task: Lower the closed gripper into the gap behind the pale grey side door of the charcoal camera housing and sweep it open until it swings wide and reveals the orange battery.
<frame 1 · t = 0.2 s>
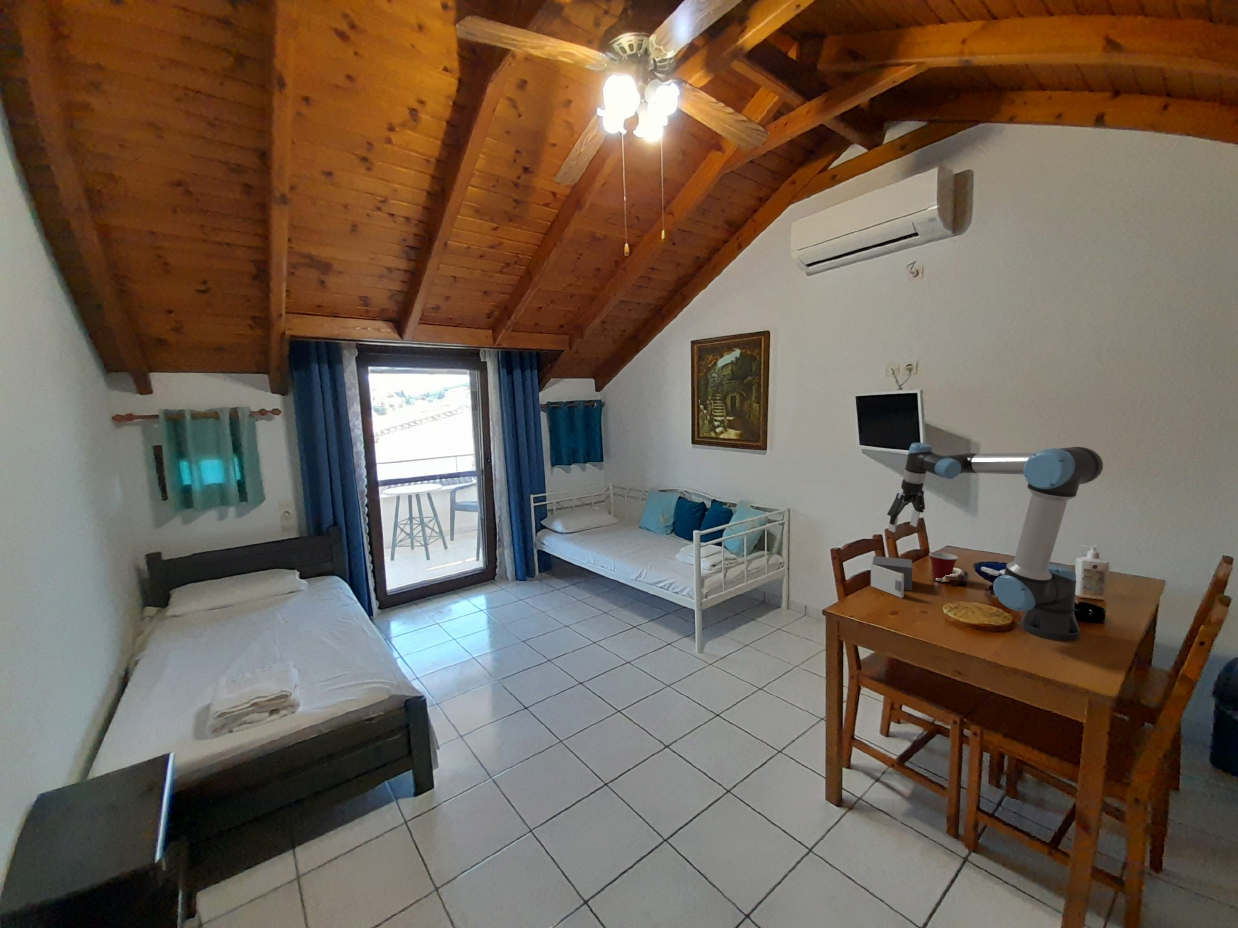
hand: (902, 528, 207), 27 cm above the table, tool pointing down, fingers open, 13 cm apart
side door: (885, 580, 209), point 5 cm above the table, hinge at 40.0°
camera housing: (891, 583, 218), on the table
plastic cup: (942, 581, 219), on the table
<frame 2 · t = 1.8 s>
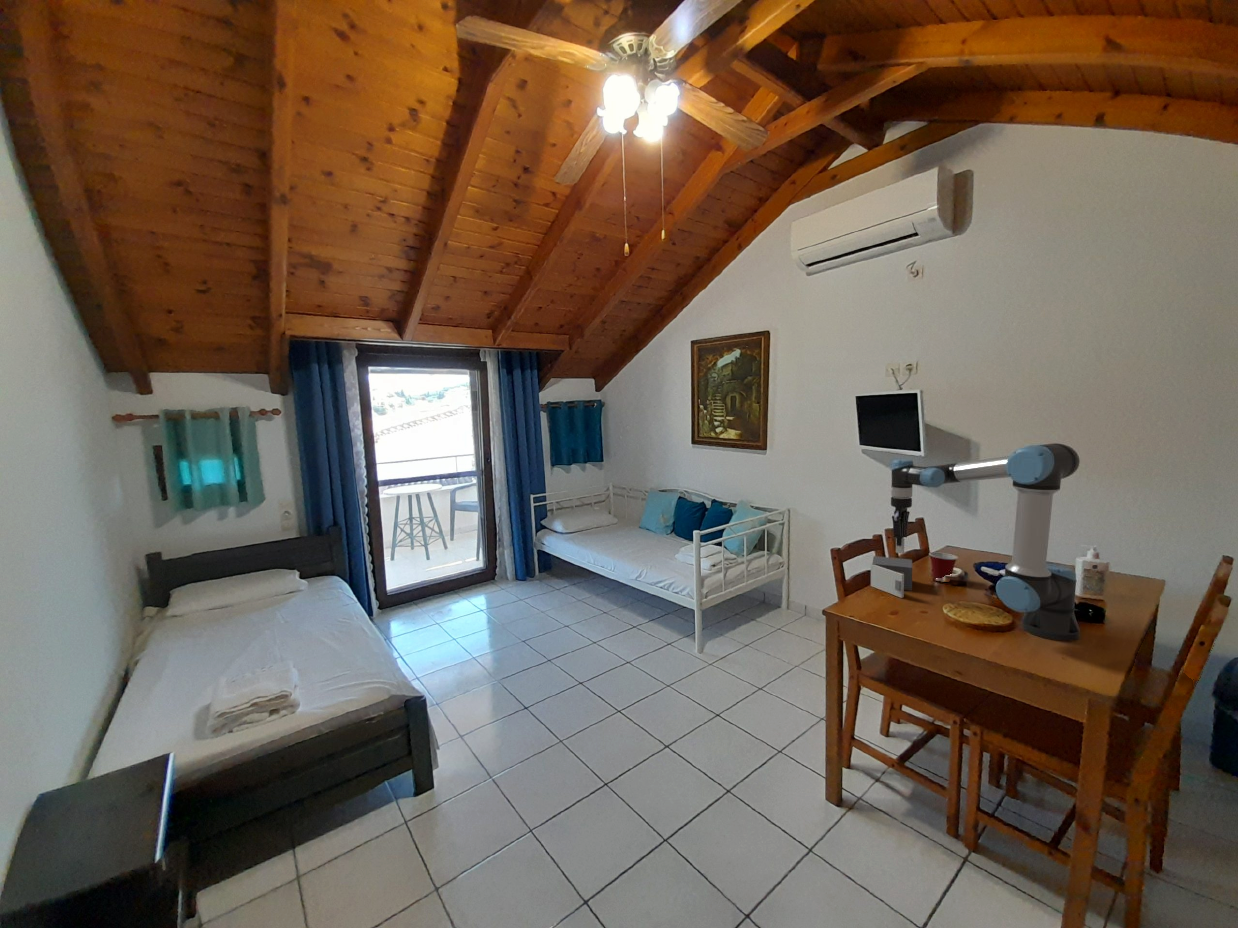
hand: (899, 552, 206), 17 cm above the table, tool pointing down, fingers closed
nothing on the table moved.
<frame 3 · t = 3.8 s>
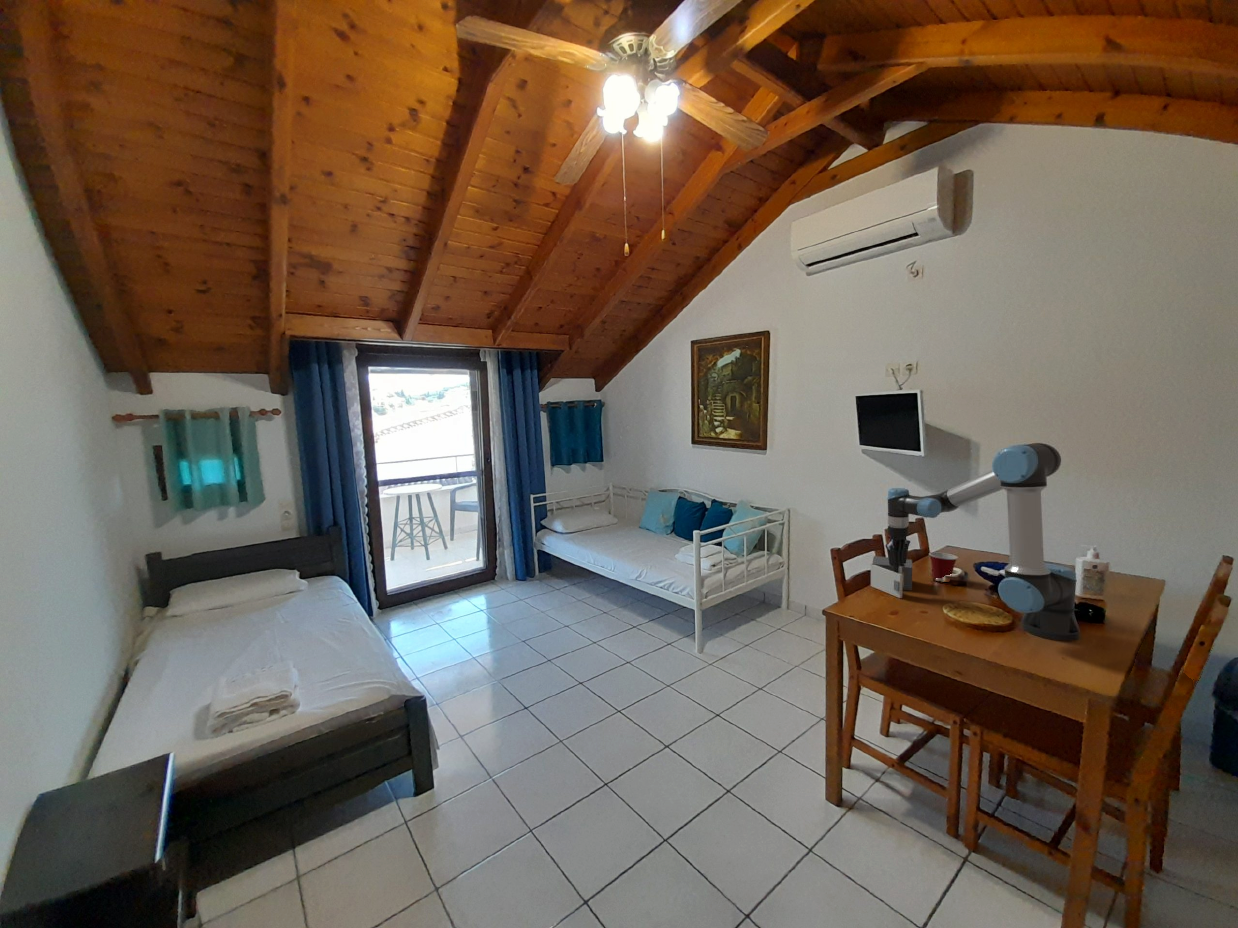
hand: (897, 581, 206), 5 cm above the table, tool pointing down, fingers closed
side door: (885, 580, 209), point 5 cm above the table, hinge at 43.1°, touching gripper
everything else where it was.
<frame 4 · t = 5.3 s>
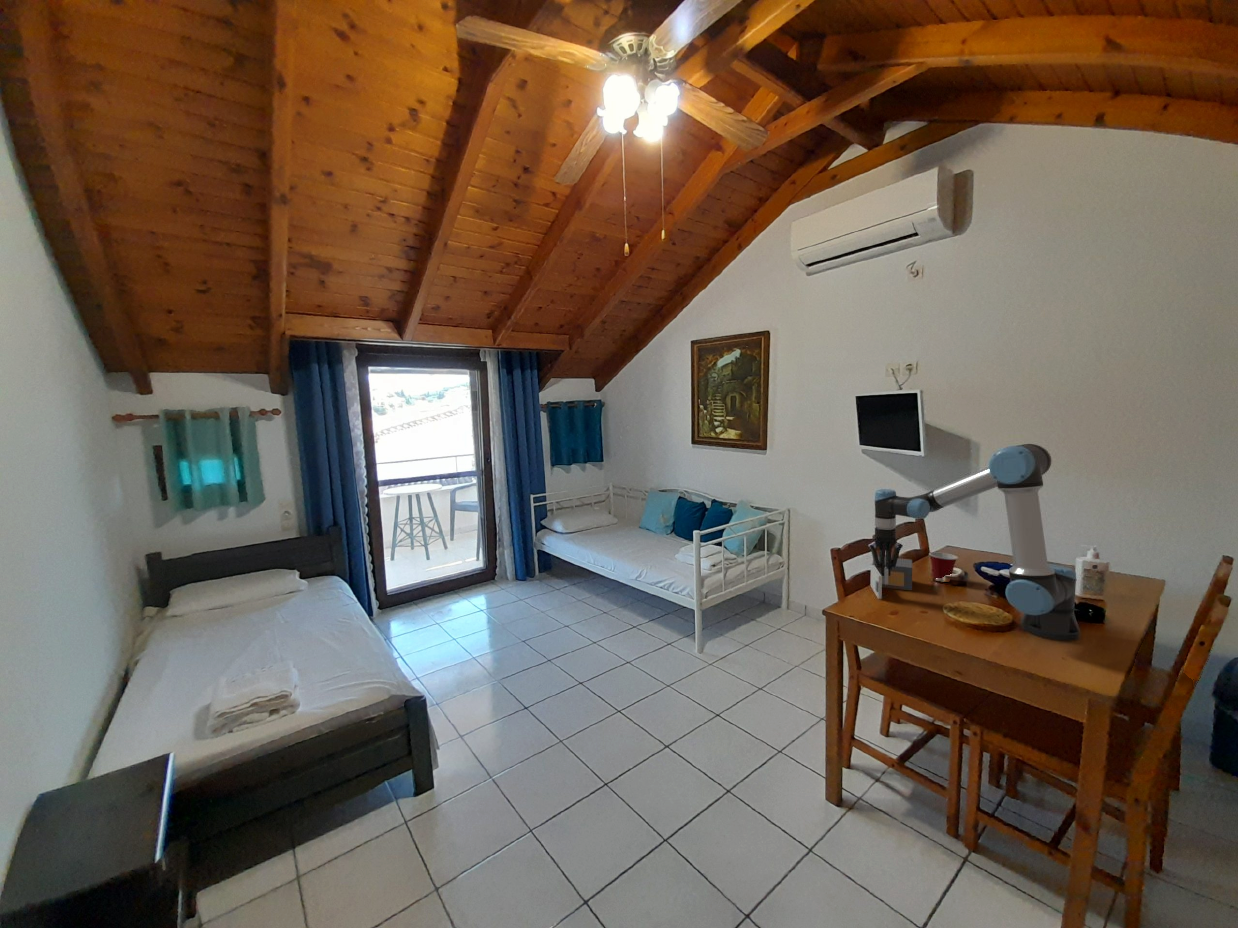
hand: (885, 583, 204), 5 cm above the table, tool pointing down, fingers closed
side door: (875, 580, 209), point 5 cm above the table, hinge at 76.6°, touching gripper
everything else where it was.
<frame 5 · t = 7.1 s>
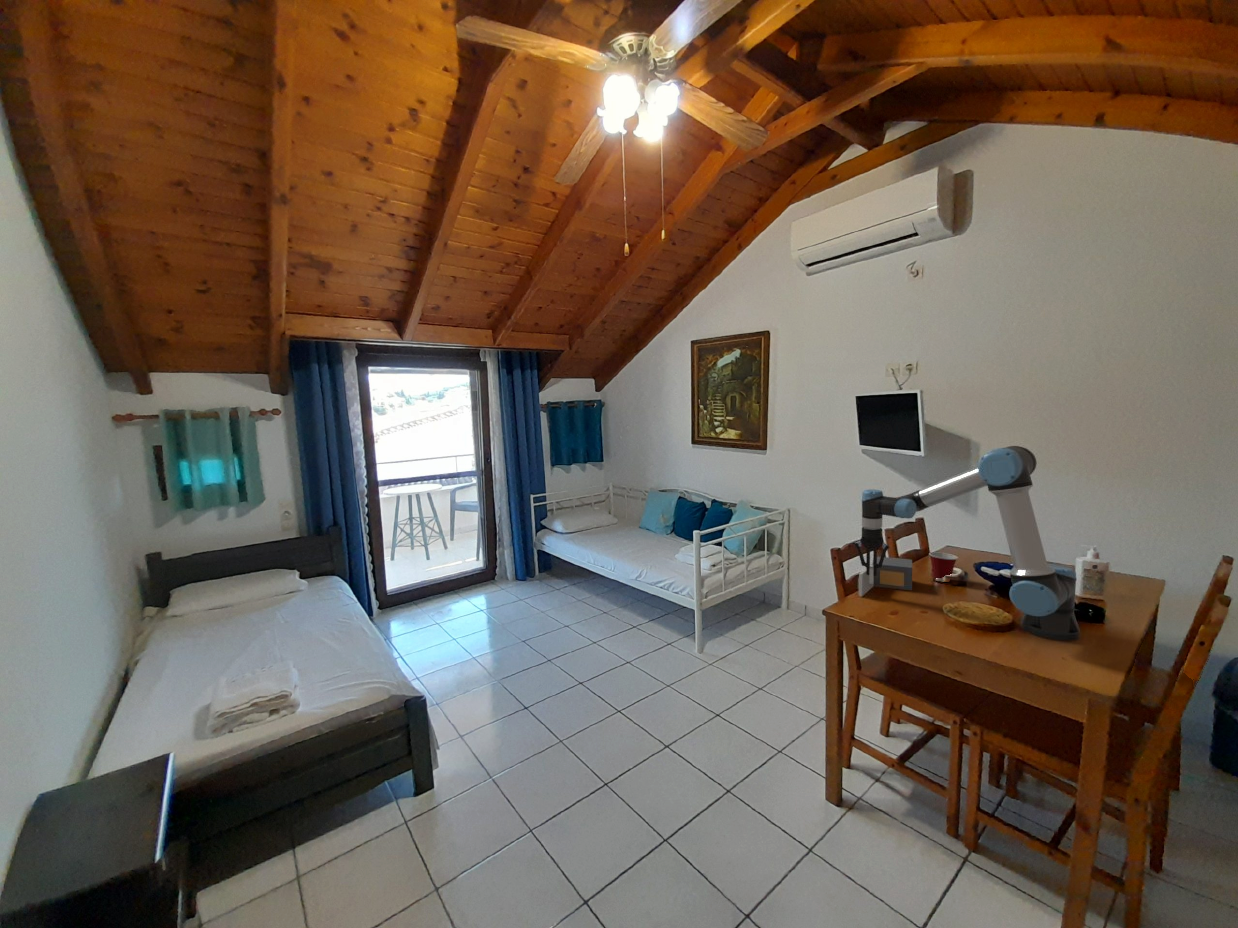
hand: (871, 582, 206), 5 cm above the table, tool pointing down, fingers closed
side door: (865, 579, 210), point 5 cm above the table, hinge at 104.4°, touching gripper
everything else where it was.
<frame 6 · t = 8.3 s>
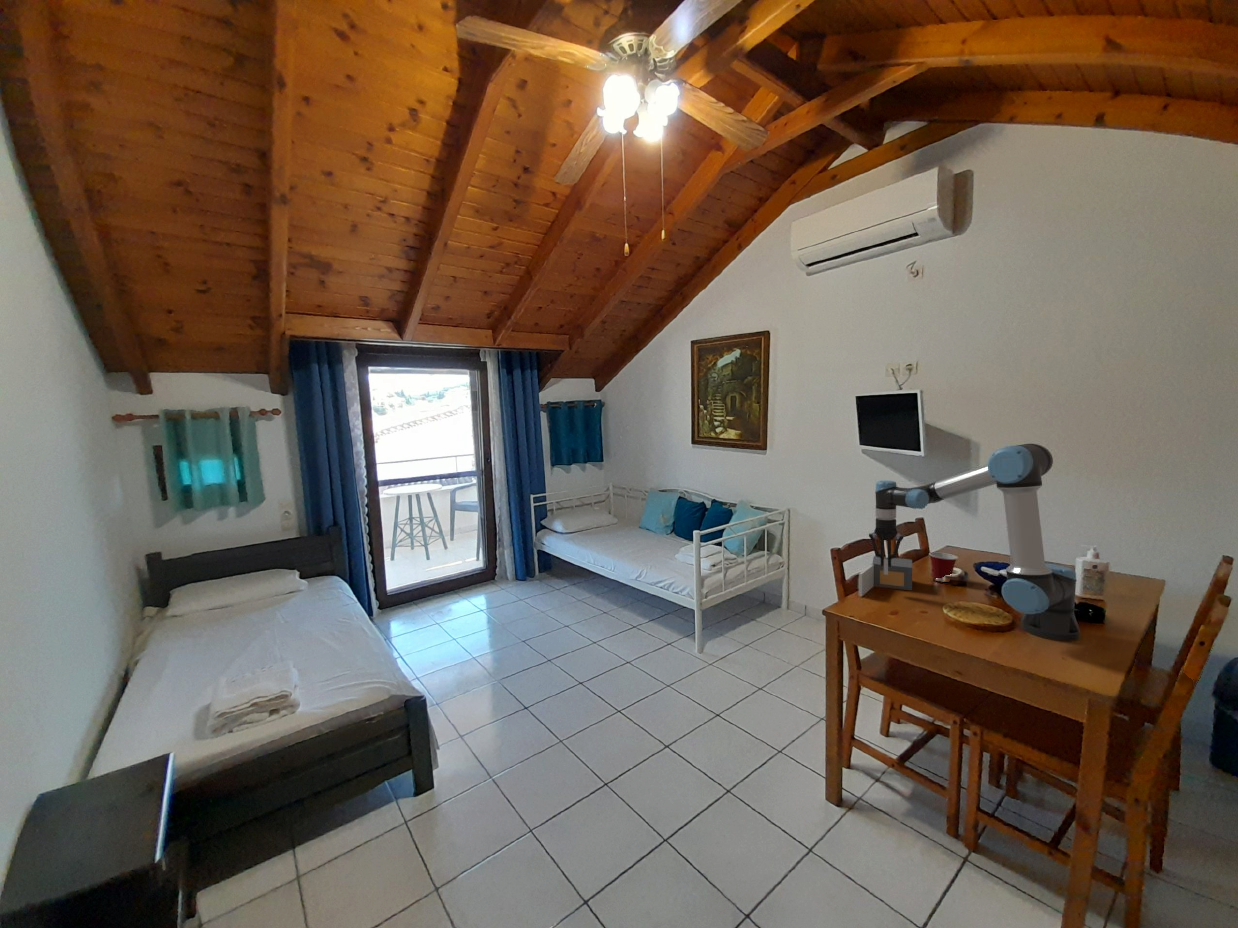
hand: (885, 573, 207), 9 cm above the table, tool pointing down, fingers closed
side door: (865, 579, 211), point 5 cm above the table, hinge at 104.5°
everything else where it was.
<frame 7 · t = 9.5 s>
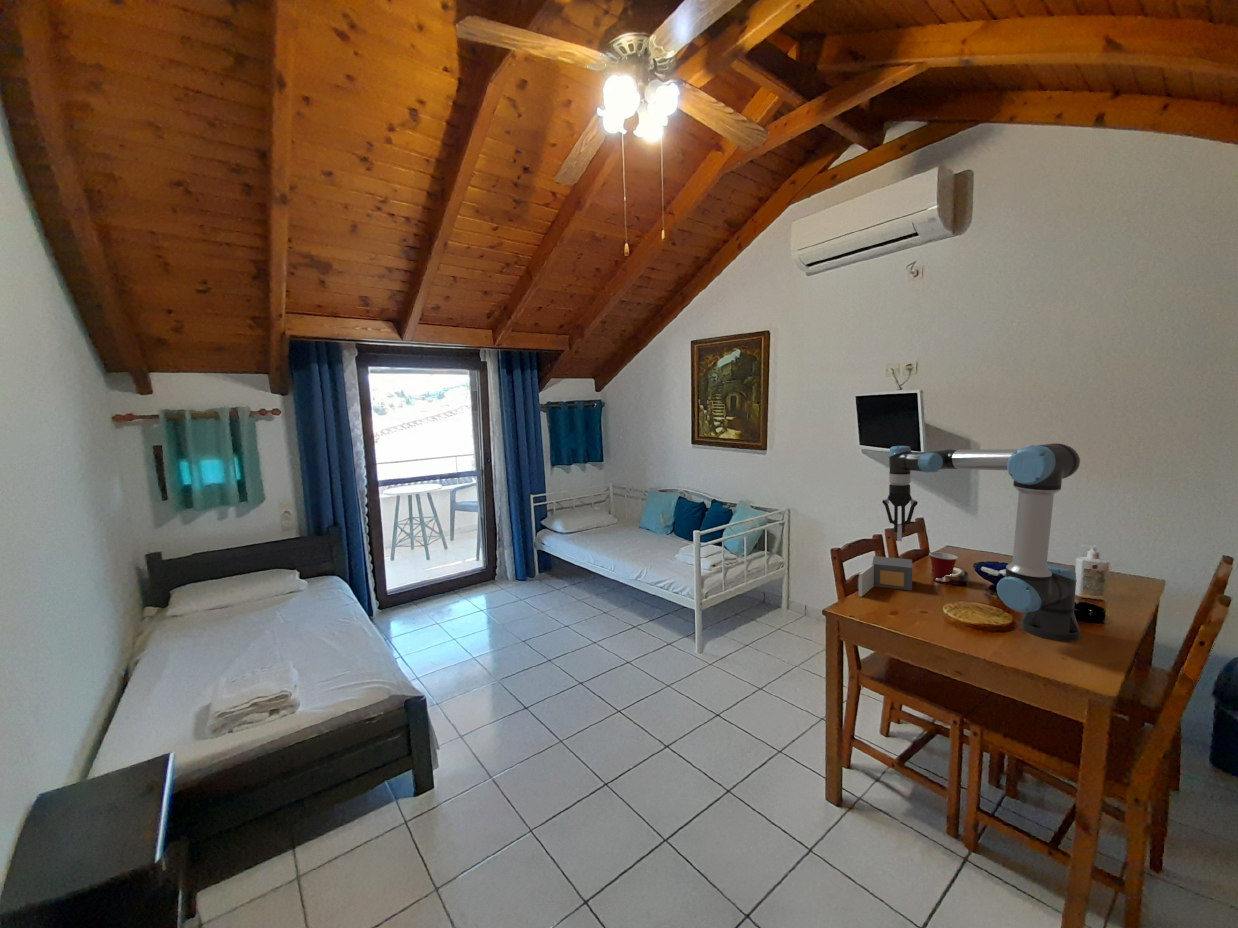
hand: (899, 540, 205), 23 cm above the table, tool pointing down, fingers closed
nothing on the table moved.
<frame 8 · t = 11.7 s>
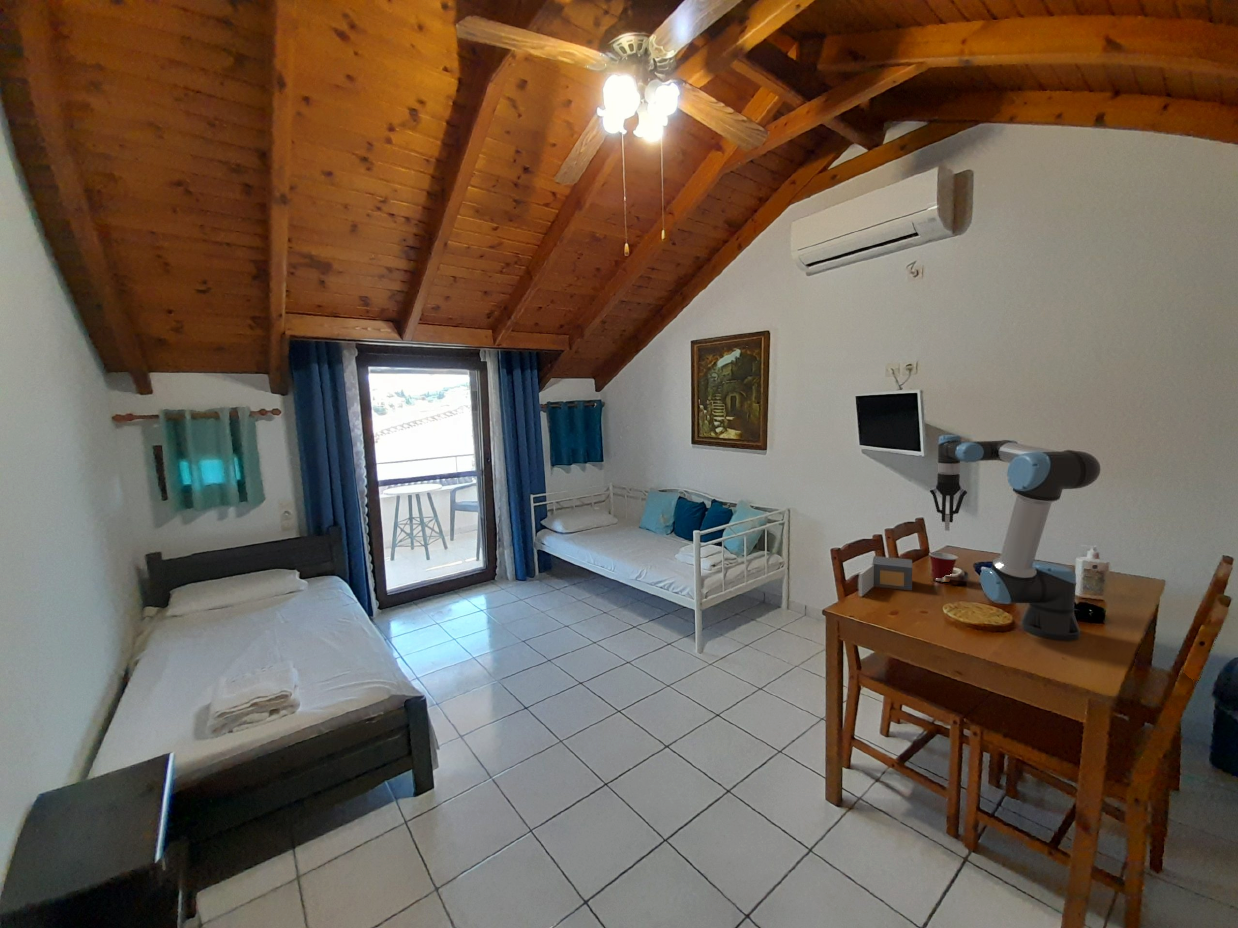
hand: (946, 529, 204), 26 cm above the table, tool pointing down, fingers closed
nothing on the table moved.
at the end: side door at +104° (first picture: +40°) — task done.
